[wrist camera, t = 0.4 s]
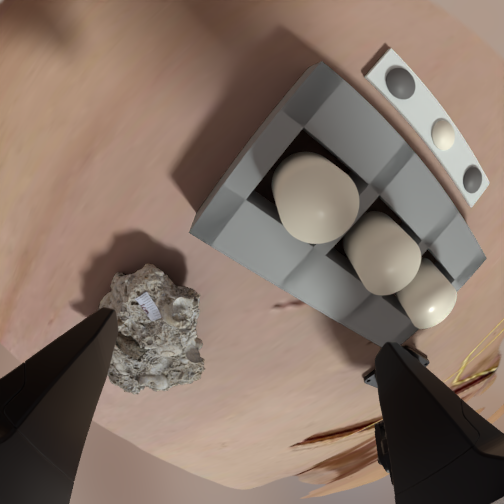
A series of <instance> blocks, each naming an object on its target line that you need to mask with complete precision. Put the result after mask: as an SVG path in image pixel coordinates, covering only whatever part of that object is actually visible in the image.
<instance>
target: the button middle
mask: <svg viewBox="0 0 504 504" xmlns="http://www.w3.org/2000/svg"><path fill="white" fill-rule="evenodd" d="M343 247H344V251H345V253H346V255H347V257H348V258H349V260H350V262H351V264H352V265H353V267H354V269H355V270H356V272H357V274H358V276H359V278H360V279H361V281H362V283H363V285H364V286H365V288H366V289H367V290H368V291H369V292H371V293H373V294H376V295H390V294H393V293H396V292H398V291H400V290H401V289H403V288H404V287H406V286H407V285H408V284H409V283H410V282H411V281H412V280H413V278H414V277H415V275H416V274H417V272H418V270H419V267H420V263H421V251H420V248H419V246H418V245H417V243H416V242H415V241H414V240H413V239H412V238H411V237H410V236H409V235H408V234H407V233H406V232H405V231H404V230H403V229H402V228H401V227H400V226H399V225H398V224H397V223H396V222H395V221H394V220H392V219H391V218H390V217H389V216H388V215H387V214H385V213H382V212H379V211H371V212H367V213H364V214H363V215H362V216H361V217H360V218H359V219H358V220H357V221H356V223H355V224H354V225H353V226H352V227H351V228H350V229H349V230H348V231H347V233H346V234H345V235H344V239H343Z"/></svg>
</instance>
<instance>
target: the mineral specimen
mask: <svg viewBox="0 0 504 504" xmlns="http://www.w3.org/2000/svg"><path fill="white" fill-rule="evenodd" d="M110 287H111V289H112V290H111V292H109V293H107V295H105V296H104V297H103V299H102V300H101V301H100V306H99V309H100V308H102V307H107V308H112V309H114V310H115V311H116V315H117V322H118V336H117V340H116V343H115V347H114V351H113V355H112V359H111V363H110V367H109V371H108V375H107V376H109V380H110V382H111V383H112V384H114V385H115V386H119V387H120V388H122V389H124V392H129V393H133V394H134V395H135V394H139V392H140V390H143V389H144V388H145V387H144V386H146V387H149V388H151V389H152V390H153V391H156V392H157V391H160V390H163V391H168V390H169V388H171V387H173V386H175V385H179V384H180V385H184V384H186V383H187V384H191V383H192V382H193V381H196V380H199V379H200V378H201V376H200V375H201V374H202V371H204V370H205V368H204V366H203V365H204V359H203V358H201V357H200V353H199V349H201V348H202V345H203V343H202V340H201V339H199V338H197V334H196V333H197V332H196V324H197V318H198V316H199V312H200V310H199V309H198V305H199V298H200V294H198V293H197V292H196V291H195V290H193V289H191V288H188V287H185V286H184V287H181V286H176V285H175V284H174V283H173V282H172V281H171V280H170V279H169V278H168V275H165V274H164V273H163V271H161V270H160V269H159V268H156V267H155V266H154V265H153V264H145V266H144V267H143V268H142V269H140V270H138V271H136V272H135V273H134V274H129V275H124V274H123V273H122V272H121V273H116V274H115V276H114V278H113V280H112V283H111V285H110ZM99 309H98V310H99Z"/></svg>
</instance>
